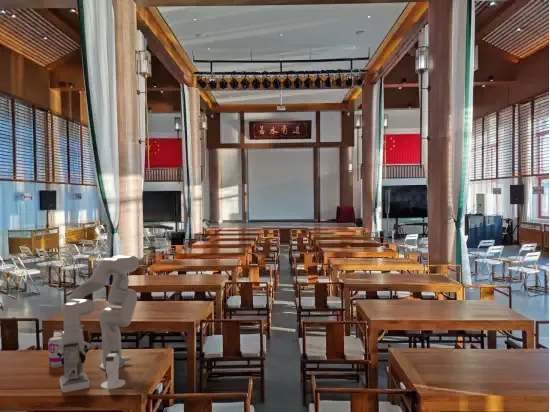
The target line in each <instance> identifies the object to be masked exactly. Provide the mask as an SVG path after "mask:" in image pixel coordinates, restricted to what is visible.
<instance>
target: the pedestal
mask: <svg viewBox="0 0 550 412" xmlns="http://www.w3.org/2000/svg"><path fill="white" fill-rule="evenodd" d="M59 385H60V386H59V387H60V390H61V393H69V392H75V391H78V390H83V389H84V390H85V389H89V388H90V381H89V378H88V376H87V374H86V372H85V371H83V372H82V374H81V375H80V376H79V377H78V378H72V379H65V375H63V376H60V378H59Z"/></svg>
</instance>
